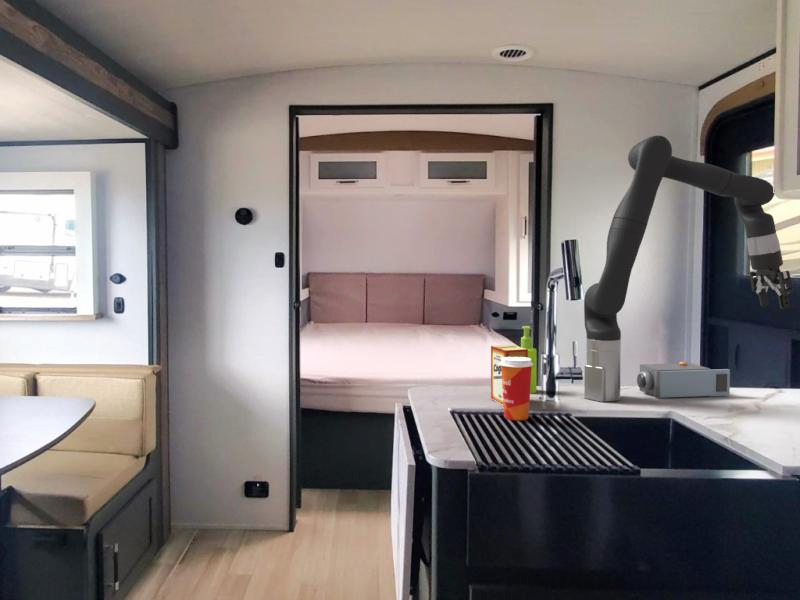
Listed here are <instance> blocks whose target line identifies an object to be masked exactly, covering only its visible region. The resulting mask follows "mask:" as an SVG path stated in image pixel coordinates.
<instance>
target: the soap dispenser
mask: <svg viewBox="0 0 800 600" xmlns="http://www.w3.org/2000/svg"><path fill="white" fill-rule="evenodd" d="M521 328H522V329H523V336H522V337H520V347H521V348H525V349H528V358H530V359H531V362H532V363H533V366H532V369H531V386H530V394H535V393H537V365H538V364H537V363H538V362H537V356H538V355H537V350H538V349H537V348H535V347H533V337H531V336H530V330H531V327H530V325H523V326H522V327H521Z"/></svg>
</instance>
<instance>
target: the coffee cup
mask: <svg viewBox="0 0 800 600" xmlns="http://www.w3.org/2000/svg"><path fill="white" fill-rule="evenodd" d="M500 365H501V372H502V389H503V405H504V406H503V415H504V417H503V418H504V419H506V420H509V421H526V420H528V419H529V414H530V403H531V402H530V401H531V400H530V399H531V393H530V386H531V369H532V366H533V363H532V362H531V359H530V358H526V357H504V358H502V359H501V363H500Z"/></svg>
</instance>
